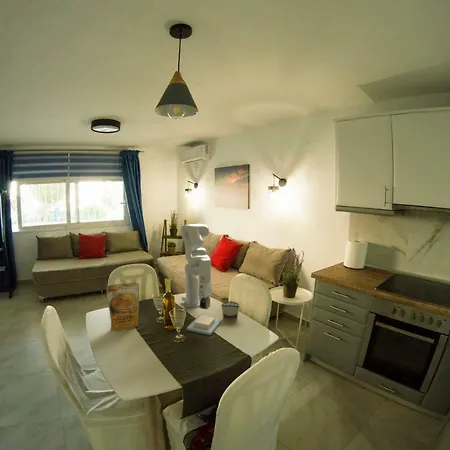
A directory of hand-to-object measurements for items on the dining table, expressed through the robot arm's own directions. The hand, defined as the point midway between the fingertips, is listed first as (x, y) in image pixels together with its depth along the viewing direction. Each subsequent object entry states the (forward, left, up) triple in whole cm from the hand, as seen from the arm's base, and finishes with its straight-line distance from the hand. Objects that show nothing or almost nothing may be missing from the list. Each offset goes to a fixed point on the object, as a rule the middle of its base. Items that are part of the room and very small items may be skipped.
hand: (204, 305), depth 180 cm
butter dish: (0, 0, -14) cm, 14 cm away
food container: (+11, +18, -14) cm, 25 cm away
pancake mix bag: (-46, -21, -14) cm, 52 cm away
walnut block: (0, 0, -1) cm, 1 cm away
